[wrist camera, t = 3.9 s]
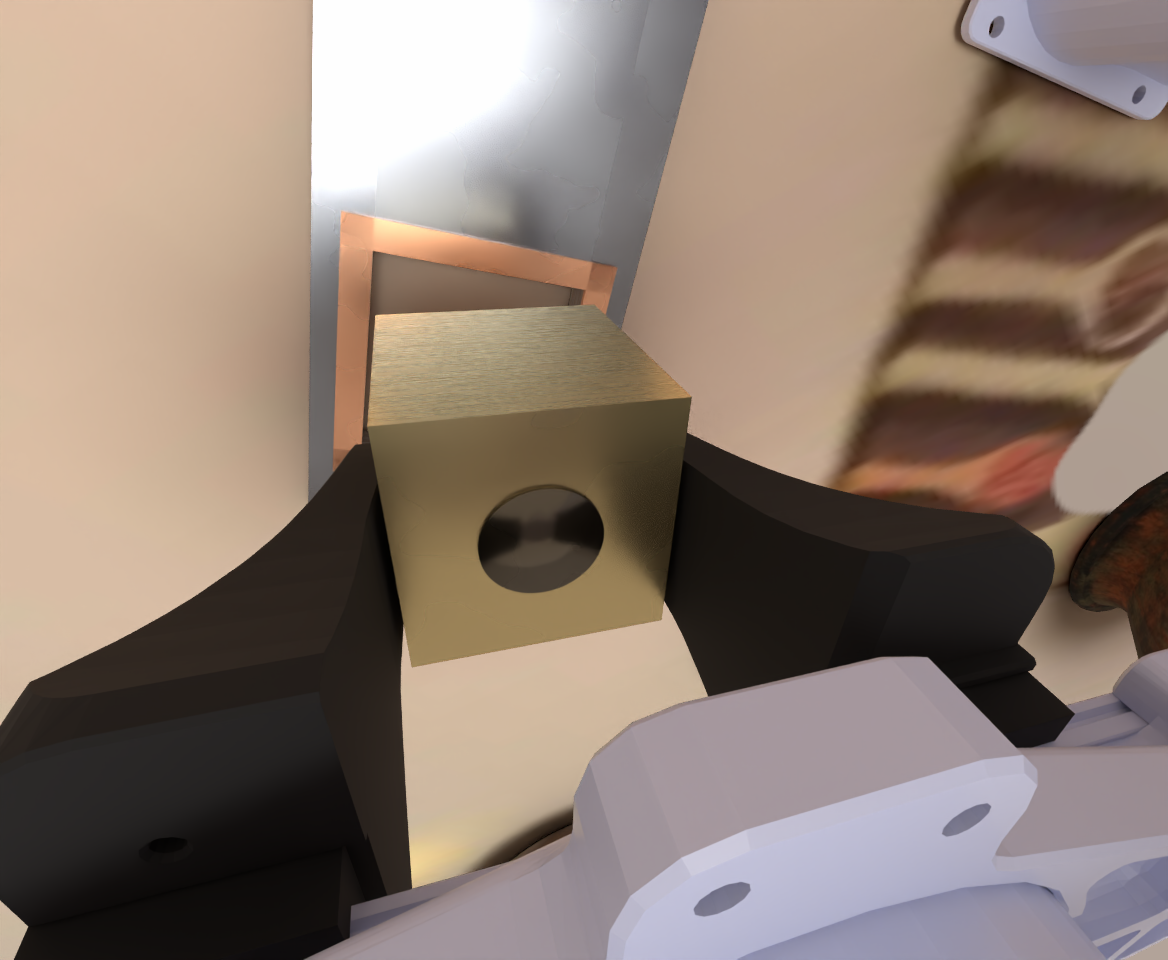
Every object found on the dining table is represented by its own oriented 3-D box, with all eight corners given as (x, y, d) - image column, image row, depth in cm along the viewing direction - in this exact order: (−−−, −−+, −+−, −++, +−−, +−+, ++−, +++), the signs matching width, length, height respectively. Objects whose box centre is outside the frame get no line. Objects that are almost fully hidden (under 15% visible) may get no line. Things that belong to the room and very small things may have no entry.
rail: (846, -614, 11) (898, -694, 10) (559, 514, 23) (568, 535, 22) (332, -1078, 8) (323, -1275, 7) (312, 503, 20) (307, 527, 19)
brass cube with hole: (594, 304, 13) (693, 398, 9) (587, 481, 15) (662, 622, 11) (375, 314, 12) (367, 428, 7) (405, 504, 14) (412, 670, 10)
